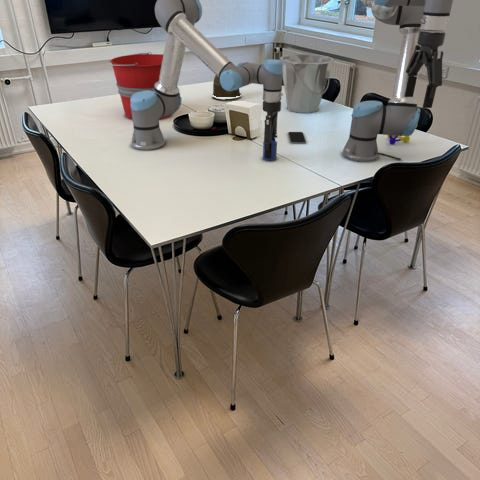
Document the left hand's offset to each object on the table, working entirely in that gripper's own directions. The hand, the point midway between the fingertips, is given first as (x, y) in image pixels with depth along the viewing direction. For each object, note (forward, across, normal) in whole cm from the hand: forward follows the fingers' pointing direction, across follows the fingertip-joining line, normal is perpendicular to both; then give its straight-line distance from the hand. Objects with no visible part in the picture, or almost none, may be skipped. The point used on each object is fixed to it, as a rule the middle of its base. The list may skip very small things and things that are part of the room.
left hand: (269, 154), depth 192 cm
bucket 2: (+2, +83, 0) cm, 83 cm away
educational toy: (+2, +38, -52) cm, 65 cm away
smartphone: (+2, +30, -6) cm, 31 cm away
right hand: (-32, -20, -54) cm, 66 cm away
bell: (+2, +94, +51) cm, 107 cm away
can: (+2, 0, 0) cm, 2 cm away
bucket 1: (+2, +45, +82) cm, 93 cm away
